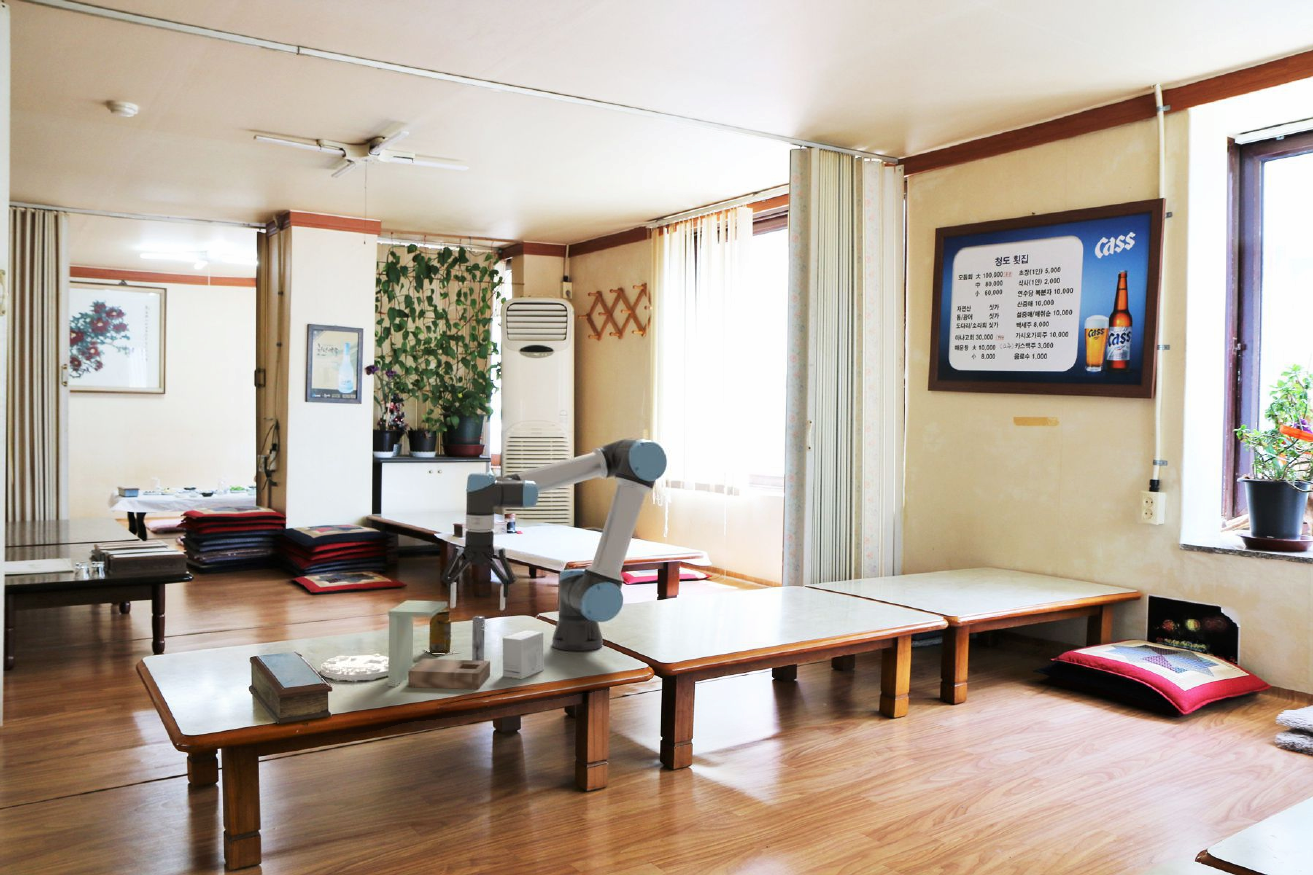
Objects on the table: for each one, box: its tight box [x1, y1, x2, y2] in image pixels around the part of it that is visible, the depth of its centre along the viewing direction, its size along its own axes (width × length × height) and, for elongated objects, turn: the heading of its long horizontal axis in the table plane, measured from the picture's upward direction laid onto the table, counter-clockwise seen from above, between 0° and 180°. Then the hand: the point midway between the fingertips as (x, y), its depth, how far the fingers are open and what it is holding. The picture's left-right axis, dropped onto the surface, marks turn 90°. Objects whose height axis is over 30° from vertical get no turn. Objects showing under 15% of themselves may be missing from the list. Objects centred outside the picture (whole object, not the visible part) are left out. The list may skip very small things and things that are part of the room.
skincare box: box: [502, 629, 545, 680], centre depth 251 cm, size 10×6×10 cm, turn 152°
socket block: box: [407, 658, 491, 690], centre depth 242 cm, size 18×12×4 cm, turn 86°
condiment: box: [424, 608, 460, 657], centre depth 272 cm, size 7×8×12 cm
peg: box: [471, 615, 486, 661], centre depth 255 cm, size 3×3×14 cm
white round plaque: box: [320, 653, 389, 683], centre depth 250 cm, size 20×20×3 cm
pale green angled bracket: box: [387, 600, 448, 688], centre depth 243 cm, size 11×14×19 cm
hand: (477, 608), depth 255 cm, fingers open, 13 cm apart
